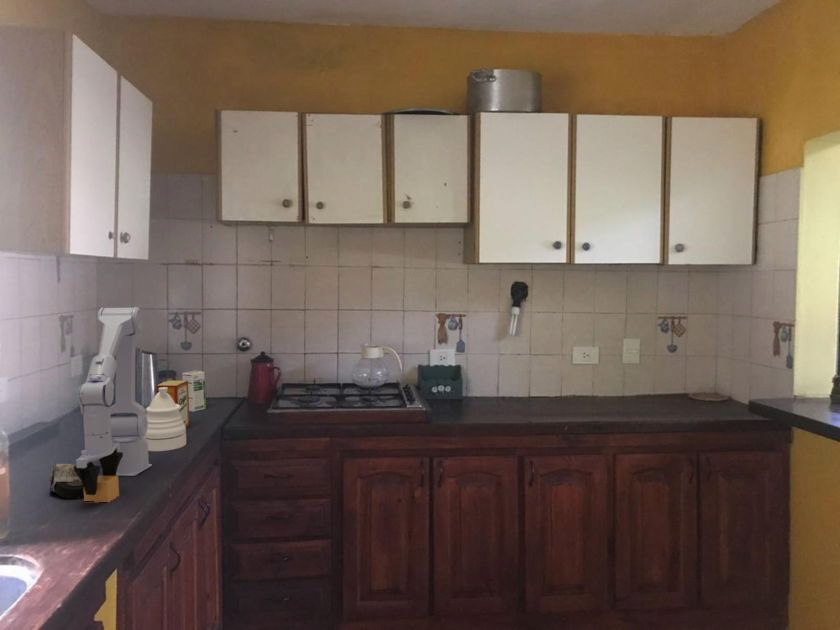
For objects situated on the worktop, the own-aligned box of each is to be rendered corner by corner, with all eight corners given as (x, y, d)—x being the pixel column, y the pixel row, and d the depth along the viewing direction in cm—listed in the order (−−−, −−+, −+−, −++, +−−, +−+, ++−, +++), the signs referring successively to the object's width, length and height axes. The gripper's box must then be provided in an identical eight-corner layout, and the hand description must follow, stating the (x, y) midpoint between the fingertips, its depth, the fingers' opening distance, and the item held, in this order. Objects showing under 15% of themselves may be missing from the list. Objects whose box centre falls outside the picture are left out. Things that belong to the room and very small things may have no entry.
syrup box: (193, 412, 252) (192, 373, 250) (183, 410, 255) (182, 372, 254) (206, 409, 256) (205, 371, 255) (196, 407, 260) (194, 369, 258)
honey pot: (190, 447, 205) (188, 388, 203) (145, 453, 198) (142, 392, 197) (181, 437, 216) (179, 381, 214) (138, 443, 209) (135, 385, 208)
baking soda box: (170, 425, 231) (169, 379, 230) (189, 425, 231) (187, 379, 229) (158, 432, 222) (156, 384, 220) (178, 432, 221) (176, 384, 220)
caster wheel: (91, 506, 163) (44, 507, 158) (93, 483, 173) (49, 482, 168) (95, 481, 161) (47, 481, 157) (96, 459, 171) (51, 458, 167)
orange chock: (94, 495, 163) (93, 475, 163) (119, 496, 162) (118, 476, 162) (83, 502, 159) (82, 481, 158) (108, 503, 158) (107, 482, 157)
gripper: (99, 424, 167) (102, 478, 168) (62, 440, 152) (65, 499, 153) (126, 425, 166) (129, 479, 167) (91, 440, 152) (94, 500, 153)
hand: (100, 488), depth 160 cm, fingers open, 7 cm apart
